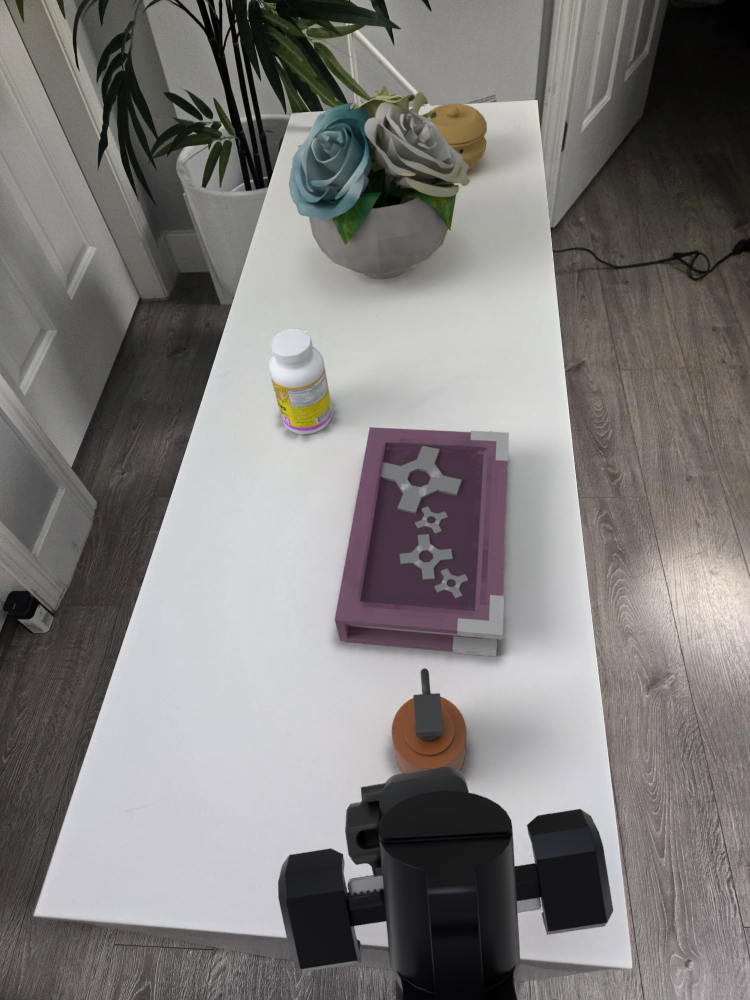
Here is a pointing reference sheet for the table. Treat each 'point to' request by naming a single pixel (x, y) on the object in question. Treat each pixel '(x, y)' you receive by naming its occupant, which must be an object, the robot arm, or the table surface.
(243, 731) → the table surface
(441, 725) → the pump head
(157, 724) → the table surface
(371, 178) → the flower arrangement
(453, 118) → the pot
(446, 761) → the soap bottle
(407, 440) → the book
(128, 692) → the table surface
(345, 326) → the table surface
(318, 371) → the supplement bottle
